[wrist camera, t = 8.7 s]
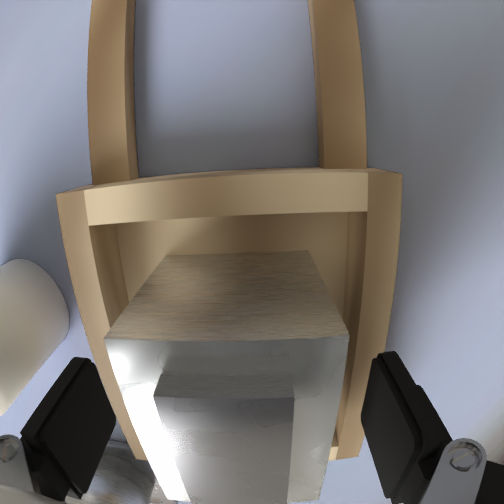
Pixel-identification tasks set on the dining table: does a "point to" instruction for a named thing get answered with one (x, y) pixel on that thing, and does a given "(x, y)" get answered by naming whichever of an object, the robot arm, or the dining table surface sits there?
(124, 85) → the wooden tray with handles
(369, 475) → the dining table surface
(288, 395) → the grey cinder block
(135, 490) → the metal knob on plate
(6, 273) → the white rounded block
